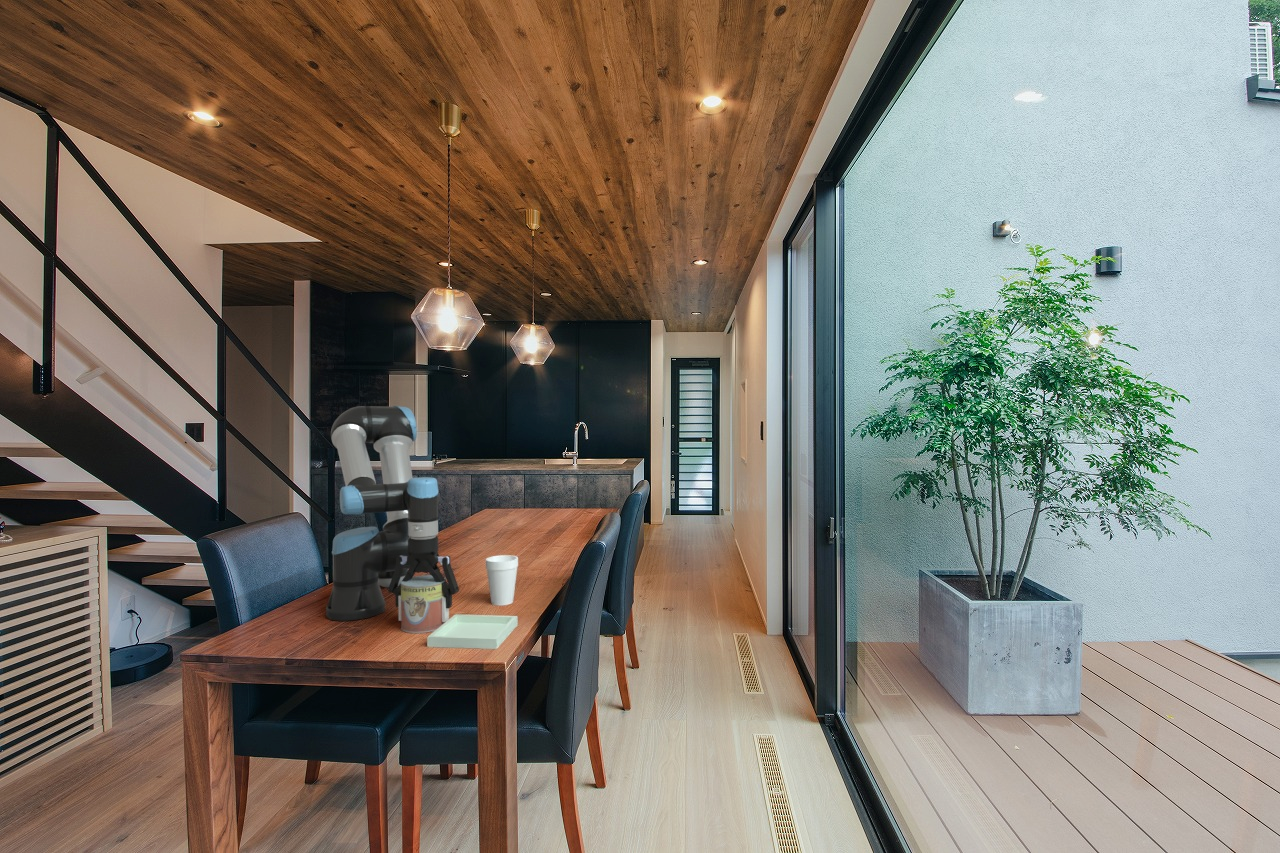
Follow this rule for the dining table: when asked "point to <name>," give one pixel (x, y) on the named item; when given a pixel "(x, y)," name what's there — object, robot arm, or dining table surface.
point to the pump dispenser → (389, 578)
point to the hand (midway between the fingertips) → (423, 619)
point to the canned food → (421, 604)
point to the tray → (473, 631)
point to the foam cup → (502, 578)
